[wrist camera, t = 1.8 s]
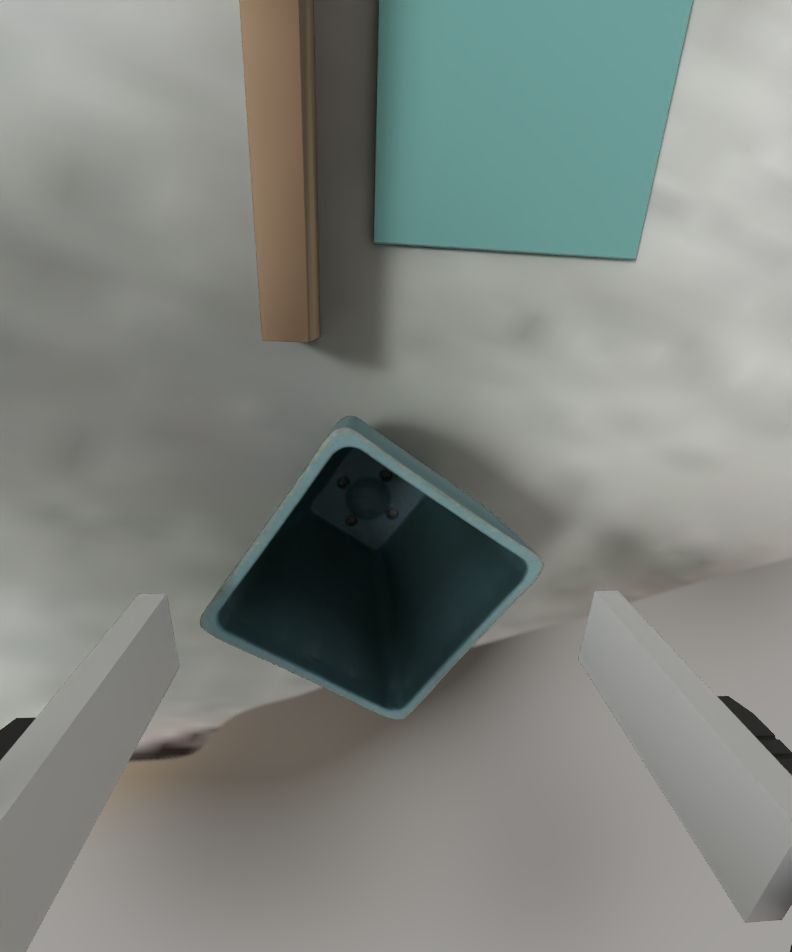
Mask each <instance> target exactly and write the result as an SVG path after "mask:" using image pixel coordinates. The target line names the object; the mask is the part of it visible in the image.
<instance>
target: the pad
mask: <svg viewBox="0 0 792 952" xmlns="http://www.w3.org/2000/svg"><path fill="white" fill-rule="evenodd" d="M692 2H693V0H379V19H378V66H377V112H376V159H375V205H374V243H376V244H391V245H407V246H422V247H438V248H453V249H469V250H485V251H500V252H516V253H531V254H547V255H563V256H578V257H594V258H609V259H625V260H632V259H636V255H637V251H638V246H639V242H640V237H641V233H642V228H643V224H644V219H645V215H646V210H647V206H648V201H649V196H650V192H651V187H652V183H653V178H654V174H655V169H656V165H657V160H658V156H659V151H660V147H661V142H662V138H663V133H664V129H665V124H666V120H667V115H668V110H669V106H670V101H671V97H672V92H673V88H674V83H675V79H676V74H677V70H678V65H679V61H680V56H681V52H682V47H683V43H684V38H685V34H686V29H687V24H688V20H689V15H690V11H691V6H692Z"/></svg>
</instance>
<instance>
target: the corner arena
mask: <svg viewBox="0 0 792 952" xmlns="http://www.w3.org/2000/svg"><path fill="white" fill-rule="evenodd" d="M239 3H240V18H241V33H242V47H243V62H244V77H245V92H246V107H247V122H248V137H249V152H250V166H251V181H252V196H253V211H254V226H255V241H256V256H257V271H258V285H259V300H260V315H261V330H262V341H284V342H311V341H313V340H315V339H317V338H319V337H320V295H319V245H318V196H317V146H316V96H315V46H314V0H239Z"/></svg>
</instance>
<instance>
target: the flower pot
mask: <svg viewBox="0 0 792 952" xmlns="http://www.w3.org/2000/svg"><path fill="white" fill-rule="evenodd" d="M385 470H387V471H389V472H390V473H391V477H390V478H388V479H384V478H383V477H382V475H381V474H382V472H383V471H385ZM341 478H346V479H348V481H349V483H348V485H347V486H341V485H340V484H339V480H340V479H341ZM390 509H395V510H396V511H397V514H396V516H394V517H390V516H388V514H387V513H388V511H389V510H390ZM349 516H353V517H355V518H356V522H355V523H354V524H349V523H347V517H349ZM543 566H544V563H543V561H542V559H541V558H540V557H539V556H538V555H537V554H536V553H535V552H534V551H533V550H532V549H530V548H529V547H528V546H527V545H526V544H525V543H524V542H523V541H522V540H521V539H520V538H519V537H518V536H517V535H516V534H515V533H514V532H512V531H511V530H510V529H509V528H508V527H507V526H506V525H505V524H504V523H503V522H501V521H500V520H499V519H498V518H497V517H496V516H495V515H494V514H493V513H492V512H490V511H489V510H488V509H487V508H486V507H485V506H483V505H482V504H481V503H479V502H478V501H476V500H475V499H474V498H472V497H471V496H469V495H468V494H466V493H465V492H464V491H462V490H461V489H459V488H458V487H456V486H455V485H453V484H452V483H450V482H449V481H448V480H446V479H445V478H443V477H442V476H440V475H439V474H437V473H436V472H434V471H433V470H431V469H430V468H429V467H427V466H426V465H424V464H423V463H421V462H420V461H418V460H417V459H416V458H414V457H413V456H411V455H410V454H409V453H407V452H406V451H404V450H403V449H401V448H400V447H399V446H397V445H396V444H394V443H393V442H391V441H390V440H389V439H387V438H386V437H384V436H383V435H381V434H380V433H379V432H377V431H376V430H375V429H373V428H372V427H370V426H369V425H368V424H366V423H365V422H363V421H362V420H360V419H359V418H357V417H354V416H347V417H344V418H343V419H341V420H340V421H339V422H338V423H337V425H336V426H335V427H334V429H333V430H332V432H331V433H330V434H329V436H328V437H327V438H326V439H325V441H324V442H323V443H322V445H321V446H320V448H319V450H318V451H317V453H316V454H315V456H314V457H313V458H312V460H311V461H310V463H309V464H308V466H307V467H306V469H305V470H304V472H303V473H302V475H301V476H300V477H299V479H298V480H297V482H296V483H295V485H294V486H293V488H292V489H291V490H290V492H289V493H288V495H287V496H286V497H285V499H284V500H283V502H282V503H281V504H280V506H279V507H278V509H277V510H276V511H275V513H274V514H273V516H272V517H271V518H270V520H269V521H268V523H267V524H266V525H265V527H264V528H263V530H262V531H261V532H260V534H259V535H258V536H257V538H256V539H255V541H254V542H253V543H252V545H251V546H250V548H249V549H248V550H247V552H246V553H245V554H244V556H243V557H242V559H241V560H240V562H239V563H238V564H237V566H236V567H235V568H234V570H233V571H232V573H231V574H230V575H229V577H228V578H227V580H226V581H225V582H224V584H223V585H222V587H221V588H220V589H219V591H218V592H217V594H216V595H215V597H214V598H213V600H212V601H211V602H210V604H209V605H208V607H207V608H206V610H205V611H204V612H203V614H202V616H201V619H200V625H201V628H203V629H204V630H206V631H207V632H208V633H210V634H211V635H213V636H215V637H216V638H218V639H220V640H222V641H223V642H226V643H228V644H230V645H232V646H235V647H237V648H239V649H241V650H243V651H245V652H248V653H250V654H252V655H255V656H257V657H259V658H262V659H263V660H266V661H269V662H271V663H273V664H275V665H278V666H279V667H282V668H284V669H286V670H288V671H290V672H292V673H295V674H297V675H299V676H301V677H303V678H306V679H307V680H310V681H312V682H314V683H317V684H318V685H320V686H322V687H324V688H326V689H329V690H331V691H333V692H334V693H337V694H338V695H341V696H342V697H344V698H346V699H349V700H351V701H353V702H355V703H356V704H359V705H361V706H364V707H365V708H367V709H369V710H371V711H374V712H376V713H378V714H380V715H382V716H385V717H388V718H393V719H397V720H402V719H404V718H405V717H406V716H407V715H408V714H410V713H411V712H412V711H413V710H414V709H415V708H416V707H417V706H418V704H419V703H420V702H421V701H422V700H423V699H425V698H426V696H427V695H428V694H429V693H430V692H431V691H432V690H433V689H434V688H435V686H436V685H437V684H438V683H439V681H440V680H441V679H442V678H443V677H444V676H445V675H446V674H447V672H448V671H449V670H450V669H451V668H452V667H453V666H454V665H455V664H456V663H457V662H458V661H459V659H460V658H462V656H463V655H464V654H465V653H466V652H467V651H468V650H469V649H470V648H471V647H472V646H473V645H474V644H475V643H476V641H477V640H478V639H479V638H480V637H481V636H482V635H483V634H484V633H485V632H486V631H487V630H488V629H489V628H490V627H491V626H492V625H493V623H494V622H495V621H496V620H497V619H498V618H499V617H500V616H501V615H502V614H503V613H504V612H505V611H506V610H507V608H508V607H509V606H511V605H512V603H513V602H514V601H515V600H516V599H517V598H518V597H519V596H521V595H522V594H523V592H524V591H525V590H526V589H527V588H529V587H530V586H531V585H532V584H533V582H534V581H535V580H536V578H537V577H538V575H539V574H540V572H541V570H542V568H543Z"/></svg>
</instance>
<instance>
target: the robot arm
mask: <svg viewBox="0 0 792 952" xmlns="http://www.w3.org/2000/svg"><path fill="white" fill-rule="evenodd" d="M578 659H579V661H580V663H581V664H582V665H583V667H584V669H585V670H586V672H587V674H588V675H589V677H590V678H591V680H592V682H593V683H594V685H595V686H596V688H597V689H598V691H599V693H600V694H601V696H602V697H603V699H604V700H605V702H606V704H607V705H608V707H609V708H610V710H611V712H612V713H613V715H614V716H615V718H616V719H617V721H618V723H619V724H620V726H621V727H622V729H623V731H624V732H625V734H626V735H627V737H628V738H629V740H630V742H631V743H632V745H633V746H634V748H635V750H636V751H637V753H638V754H639V756H640V757H641V759H642V761H643V762H644V764H645V765H646V767H647V768H648V770H649V772H650V773H651V775H652V776H653V778H654V779H655V781H656V783H657V784H658V786H659V787H660V789H661V790H662V792H663V794H664V795H665V797H666V799H667V800H668V802H669V803H670V805H671V806H672V808H673V810H674V811H675V813H676V814H677V816H678V817H679V819H680V821H681V822H682V823H683V825H684V827H685V829H686V830H687V832H688V833H689V835H690V836H691V838H692V839H693V841H694V843H695V844H696V846H697V848H698V849H699V851H700V852H701V854H702V855H703V857H704V859H705V860H706V862H707V863H708V865H709V866H710V868H711V870H712V871H713V873H714V874H715V876H716V878H717V879H718V881H719V882H720V884H721V885H722V887H723V889H724V890H725V892H726V893H727V895H728V897H729V898H730V900H731V901H732V903H733V904H734V906H735V908H736V909H737V911H738V912H739V914H740V915H741V917H742V919H743V920H744V922H745V923H747V922H760V921H773V920H782V919H783V917H784V916H785V914H786V913H787V911H788V910H789V908H790V906H791V905H792V752H791V751H790V750H789V749H788V748H787V747H786V746H785V745H784V744H783V743H782V742H781V741H780V740H777V739H776V738H775V735H774V734H773V733H772V732H771V731H770V730H769V729H768V728H767V727H766V726H765V725H764V724H763V723H762V722H761V721H760V720H759V719H758V718H757V717H756V716H755V715H754V714H753V713H752V712H750V711H749V710H747V709H746V708H744V707H743V706H742V705H740V704H739V703H737V702H736V701H734V700H733V699H732V698H730V697H729V696H716V695H715V694H714V692H713V691H712V690H711V689H710V688H709V687H708V686H707V685H706V684H705V683H704V682H703V681H702V680H701V679H700V678H699V677H698V675H697V674H696V673H695V672H694V671H693V670H692V669H691V668H690V667H689V666H688V665H687V664H686V663H685V662H684V661H683V660H682V658H680V656H679V655H678V654H677V653H676V652H675V651H674V650H673V649H672V648H671V647H670V646H669V645H668V644H667V642H666V641H664V639H663V638H662V637H661V636H660V635H659V634H658V633H657V632H656V631H655V630H654V629H653V628H652V627H651V625H650V624H649V623H648V622H647V621H646V620H645V619H644V618H643V617H642V616H641V615H640V614H639V613H638V612H637V611H636V610H635V608H633V606H632V605H631V604H630V603H629V602H628V601H627V600H626V599H625V598H624V597H623V596H622V595H621V594H620V593H619V591H595V593H594V597H593V601H592V605H591V609H590V613H589V617H588V621H587V625H586V629H585V633H584V637H583V641H582V645H581V649H580V653H579V657H578ZM178 669H179V662H178V656H177V650H176V645H175V639H174V634H173V628H172V622H171V617H170V611H169V606H168V600H167V595H166V594H139V595H138V596H137V597H136V598H135V599H134V601H133V602H132V603H131V604H130V606H129V607H128V608H127V609H126V610H125V612H124V613H123V614H122V615H121V616H120V618H119V619H118V620H117V621H116V622H115V624H114V625H113V626H112V627H111V628H110V630H109V631H108V632H107V633H106V634H105V636H104V637H103V638H102V639H101V640H100V642H99V643H98V644H97V645H96V646H95V648H94V649H93V650H92V651H91V652H90V654H89V655H88V656H87V657H86V658H85V660H84V661H83V662H82V663H81V664H80V666H79V667H78V668H77V669H76V670H75V672H74V673H73V674H72V675H71V676H70V678H69V679H68V680H67V681H66V682H65V684H64V685H63V686H62V687H61V688H60V690H59V691H58V692H57V693H56V695H55V696H54V697H53V698H52V699H51V701H50V702H49V703H48V704H47V705H46V707H45V708H44V709H43V710H42V711H41V713H40V714H39V715H38V716H37V717H36V718H16V719H15V720H13V721H12V722H11V723H9V724H8V725H7V726H5V727H4V728H3V729H1V730H0V952H26V951H27V949H28V947H29V945H30V943H31V941H32V940H33V938H34V936H35V934H36V932H37V930H38V929H39V927H40V925H41V923H42V921H43V919H44V917H45V916H46V914H47V912H48V910H49V908H50V906H51V904H52V903H53V901H54V899H55V897H56V895H57V893H58V891H59V889H60V888H61V886H62V884H63V882H64V880H65V878H66V876H67V875H68V873H69V871H70V869H71V867H72V865H73V863H74V861H75V860H76V858H77V856H78V854H79V852H80V850H81V849H82V847H83V845H84V843H85V841H86V839H87V837H88V836H89V834H90V832H91V830H92V828H93V826H94V824H95V823H96V820H97V819H98V817H99V815H100V813H101V811H102V809H103V808H104V806H105V804H106V802H107V800H108V799H109V796H110V795H111V793H112V791H113V789H114V787H115V786H116V784H117V782H118V780H119V778H120V776H121V774H122V773H123V771H124V769H125V767H126V765H127V763H128V761H129V760H130V758H131V756H132V754H133V752H134V750H135V748H136V747H137V745H138V743H139V741H140V739H141V737H142V735H143V734H144V732H145V730H146V728H147V726H148V724H149V722H150V721H151V719H152V717H153V715H154V713H155V711H156V709H157V708H158V706H159V704H160V702H161V700H162V698H163V696H164V695H165V693H166V691H167V689H168V687H169V685H170V683H171V682H172V680H173V678H174V676H175V674H176V672H177V670H178ZM790 952H792V945H791V950H790Z"/></svg>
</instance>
